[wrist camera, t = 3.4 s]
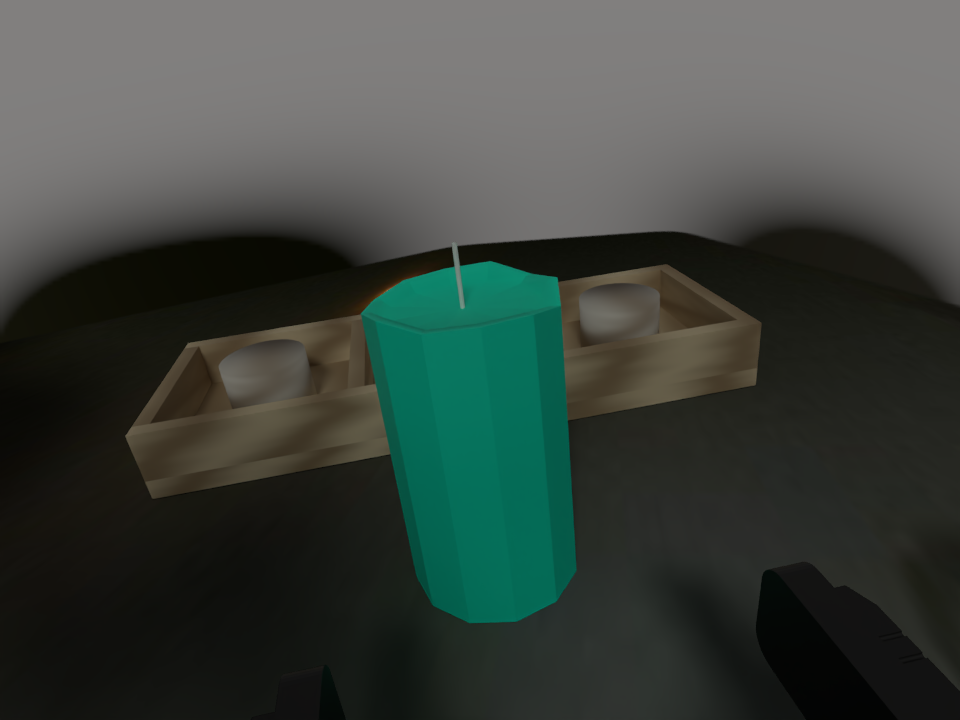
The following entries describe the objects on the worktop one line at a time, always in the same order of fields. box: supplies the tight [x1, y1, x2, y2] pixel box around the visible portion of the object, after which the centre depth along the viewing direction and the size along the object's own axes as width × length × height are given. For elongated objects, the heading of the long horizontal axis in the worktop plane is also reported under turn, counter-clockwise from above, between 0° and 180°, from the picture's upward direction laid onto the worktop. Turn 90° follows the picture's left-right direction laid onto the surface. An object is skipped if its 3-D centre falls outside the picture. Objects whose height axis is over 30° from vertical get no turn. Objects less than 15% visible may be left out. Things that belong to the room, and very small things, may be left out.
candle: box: [361, 242, 576, 623], centre depth 20 cm, size 6×6×12 cm
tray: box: [125, 264, 761, 499], centre depth 34 cm, size 30×11×4 cm, turn 100°
